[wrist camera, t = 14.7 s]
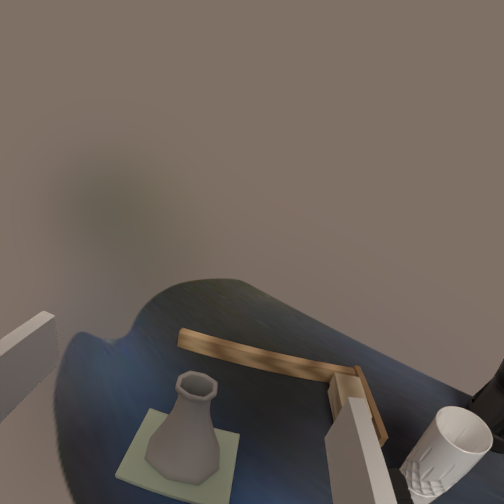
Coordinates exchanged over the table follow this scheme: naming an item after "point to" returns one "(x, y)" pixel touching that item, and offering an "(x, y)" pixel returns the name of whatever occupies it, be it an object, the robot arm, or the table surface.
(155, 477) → the coaster
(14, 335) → the robot arm
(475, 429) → the white cup
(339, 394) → the offcut top
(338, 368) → the corner fence
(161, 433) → the flask
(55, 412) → the table surface
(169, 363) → the table surface
